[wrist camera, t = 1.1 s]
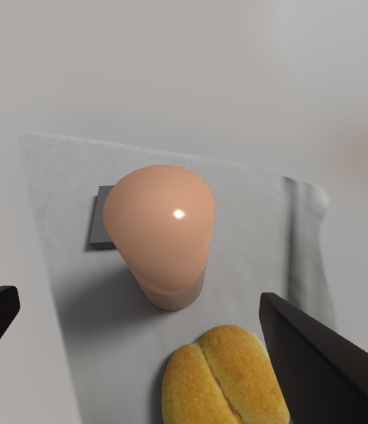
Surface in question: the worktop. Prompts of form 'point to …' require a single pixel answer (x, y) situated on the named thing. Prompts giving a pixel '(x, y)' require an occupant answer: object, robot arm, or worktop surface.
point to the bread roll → (222, 382)
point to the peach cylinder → (162, 231)
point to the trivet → (100, 222)
